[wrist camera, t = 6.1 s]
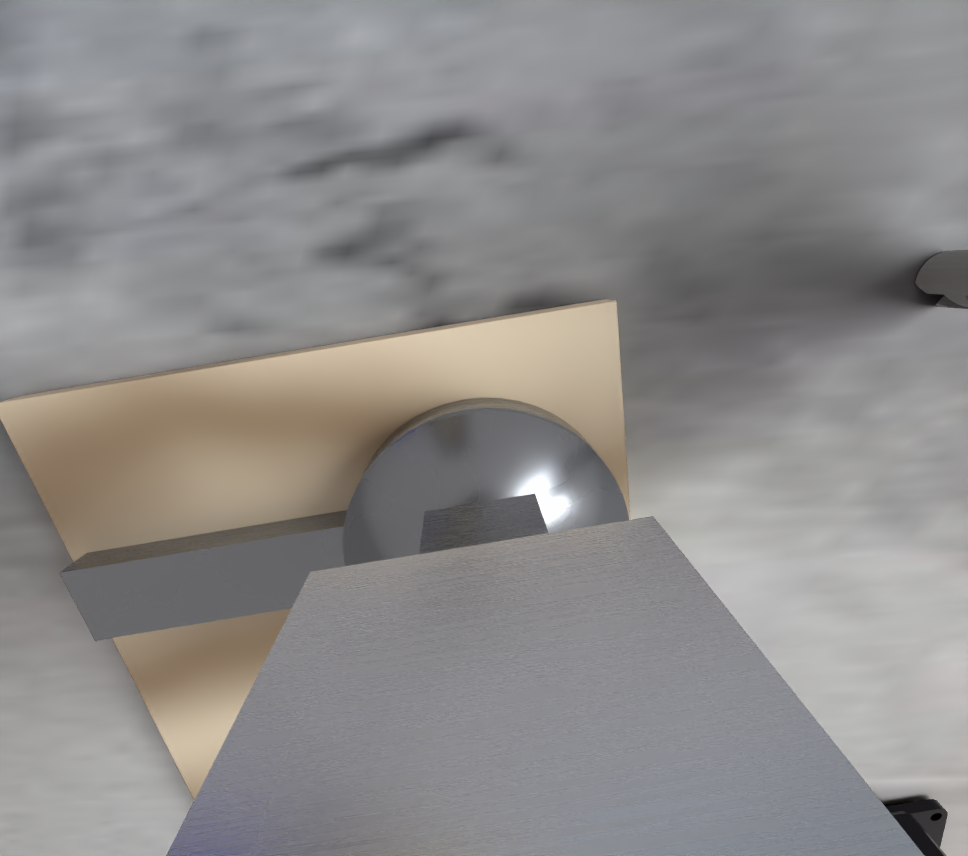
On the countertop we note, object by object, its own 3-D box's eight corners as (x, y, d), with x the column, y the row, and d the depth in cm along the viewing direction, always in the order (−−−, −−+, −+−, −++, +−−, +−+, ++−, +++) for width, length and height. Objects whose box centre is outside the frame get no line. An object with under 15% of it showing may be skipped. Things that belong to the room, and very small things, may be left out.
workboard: (639, 782, 20) (648, 807, 19) (243, 847, 20) (232, 875, 19) (605, 299, 14) (616, 301, 13) (25, 394, 14) (-7, 403, 13)
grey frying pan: (621, 607, 16) (691, 750, 11) (151, 684, 16) (20, 860, 11) (603, 376, 13) (683, 433, 9) (44, 468, 13) (-186, 576, 9)
